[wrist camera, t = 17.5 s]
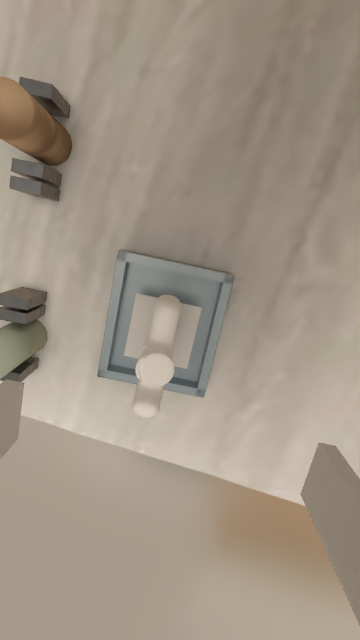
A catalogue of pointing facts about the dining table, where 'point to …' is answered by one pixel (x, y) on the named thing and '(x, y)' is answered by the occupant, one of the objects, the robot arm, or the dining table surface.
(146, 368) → the figurine
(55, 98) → the clip posts
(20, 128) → the brown rounded cylinder
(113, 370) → the tray
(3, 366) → the green dowel
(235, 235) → the dining table surface
